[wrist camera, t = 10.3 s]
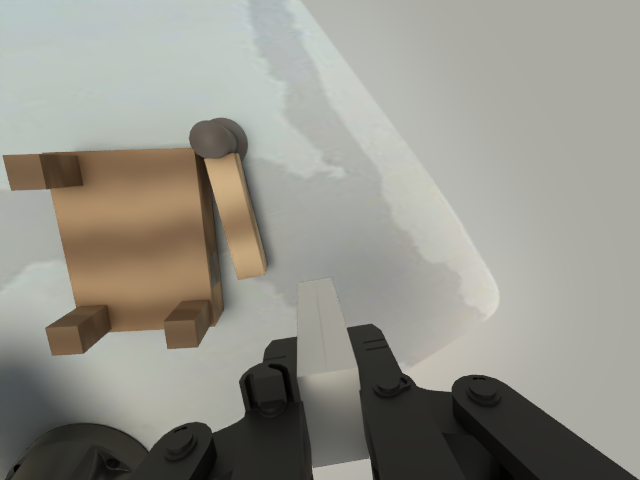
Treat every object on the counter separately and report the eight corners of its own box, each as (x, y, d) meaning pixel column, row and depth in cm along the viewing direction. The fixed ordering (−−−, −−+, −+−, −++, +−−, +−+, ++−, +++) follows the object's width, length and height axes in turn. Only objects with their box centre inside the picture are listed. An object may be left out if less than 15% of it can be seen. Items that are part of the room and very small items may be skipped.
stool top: (260, 308, 34) (249, 347, 27) (104, 316, 33) (49, 359, 26) (245, 117, 30) (226, 102, 22) (65, 122, 29) (-14, 108, 22)
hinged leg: (202, 130, 29) (184, 124, 25) (233, 124, 29) (220, 117, 25) (241, 271, 32) (231, 288, 28) (269, 265, 32) (263, 281, 28)
